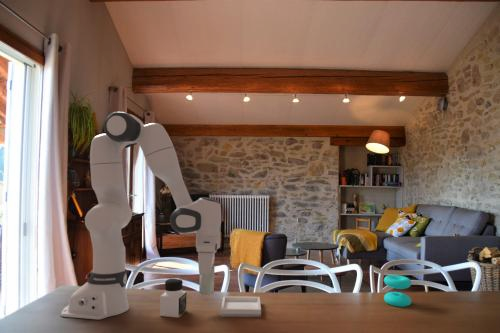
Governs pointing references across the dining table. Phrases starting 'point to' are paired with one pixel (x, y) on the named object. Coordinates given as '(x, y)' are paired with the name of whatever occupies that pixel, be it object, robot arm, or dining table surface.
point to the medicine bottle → (173, 299)
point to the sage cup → (207, 288)
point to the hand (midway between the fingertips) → (206, 281)
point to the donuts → (397, 297)
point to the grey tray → (241, 307)
